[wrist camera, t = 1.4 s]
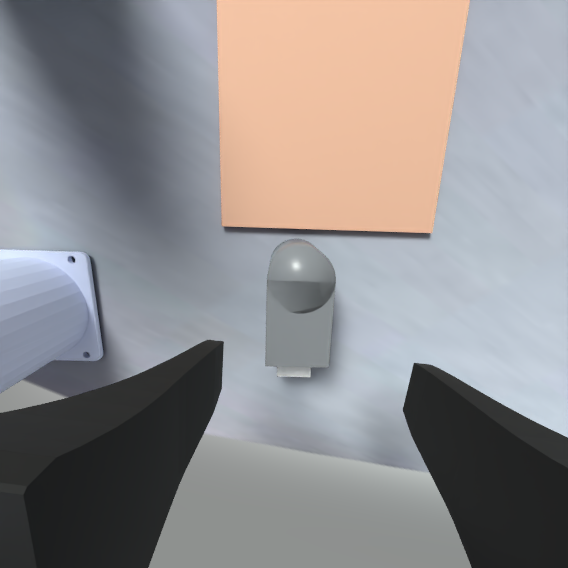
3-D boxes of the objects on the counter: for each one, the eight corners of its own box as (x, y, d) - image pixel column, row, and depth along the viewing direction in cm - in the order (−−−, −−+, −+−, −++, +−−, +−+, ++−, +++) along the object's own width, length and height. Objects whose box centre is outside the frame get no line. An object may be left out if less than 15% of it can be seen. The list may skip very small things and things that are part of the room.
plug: (268, 354, 21) (264, 397, 16) (270, 237, 19) (267, 245, 14) (315, 355, 21) (326, 398, 16) (323, 239, 19) (338, 247, 14)
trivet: (223, 225, 18) (221, 226, 18) (217, -35, 15) (215, -43, 14) (428, 232, 19) (432, 233, 18) (468, -21, 15) (474, -28, 15)
